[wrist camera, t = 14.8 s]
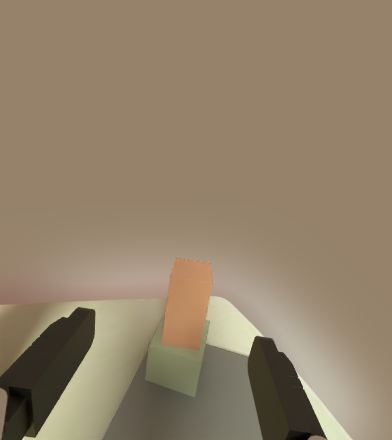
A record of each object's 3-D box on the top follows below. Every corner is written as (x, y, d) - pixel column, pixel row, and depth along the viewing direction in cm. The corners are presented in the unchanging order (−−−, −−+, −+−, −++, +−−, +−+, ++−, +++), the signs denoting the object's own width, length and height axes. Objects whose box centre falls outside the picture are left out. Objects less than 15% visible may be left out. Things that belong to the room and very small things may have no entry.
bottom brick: (144, 380, 27) (148, 344, 25) (163, 339, 34) (167, 309, 32) (194, 397, 26) (202, 361, 24) (203, 351, 32) (209, 321, 31)
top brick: (161, 344, 26) (170, 276, 23) (167, 316, 30) (175, 257, 28) (199, 350, 26) (212, 282, 23) (199, 321, 30) (210, 263, 28)
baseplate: (82, 484, 18) (82, 477, 18) (158, 334, 35) (158, 329, 35) (285, 580, 15) (288, 573, 15) (260, 365, 33) (261, 361, 32)
